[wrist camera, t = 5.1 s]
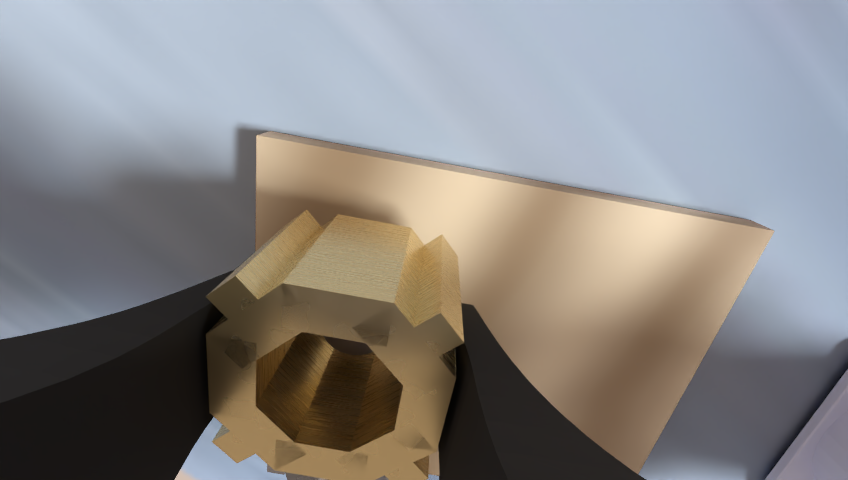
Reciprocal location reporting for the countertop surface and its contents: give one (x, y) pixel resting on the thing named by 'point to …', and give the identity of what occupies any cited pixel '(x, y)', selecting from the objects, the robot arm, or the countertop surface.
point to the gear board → (544, 273)
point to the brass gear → (329, 368)
